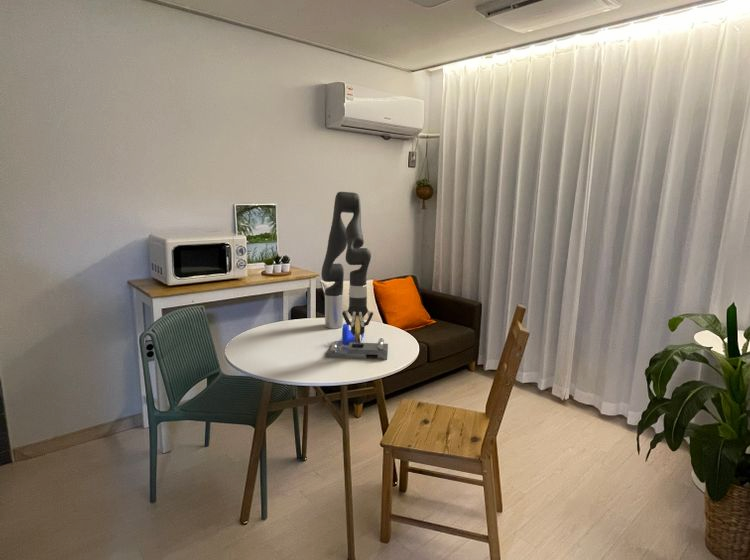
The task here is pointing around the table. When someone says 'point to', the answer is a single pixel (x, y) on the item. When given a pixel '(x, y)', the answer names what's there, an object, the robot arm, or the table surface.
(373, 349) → the grey plate with pins
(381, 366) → the table surface
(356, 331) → the pin
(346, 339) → the bracket
